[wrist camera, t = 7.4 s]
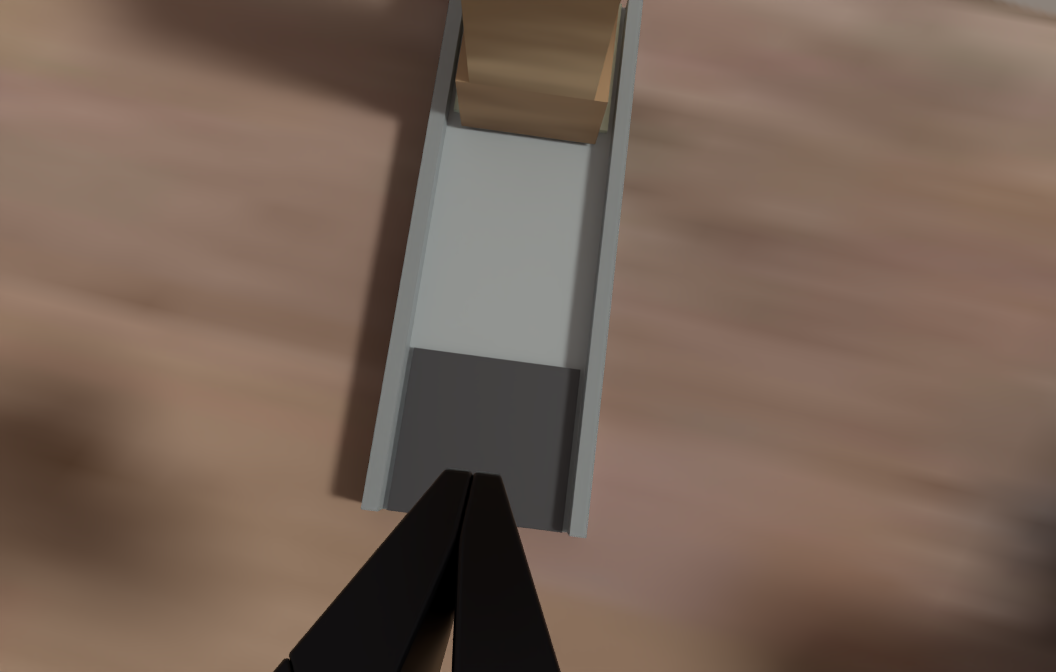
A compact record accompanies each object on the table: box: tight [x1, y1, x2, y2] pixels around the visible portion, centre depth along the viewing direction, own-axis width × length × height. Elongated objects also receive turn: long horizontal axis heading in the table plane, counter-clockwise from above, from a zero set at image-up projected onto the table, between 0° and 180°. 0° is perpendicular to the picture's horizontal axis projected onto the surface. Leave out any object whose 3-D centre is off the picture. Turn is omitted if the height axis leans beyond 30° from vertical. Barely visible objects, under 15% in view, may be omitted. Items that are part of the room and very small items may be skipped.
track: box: [361, 0, 643, 538], centre depth 23 cm, size 22×8×1 cm, turn 173°
